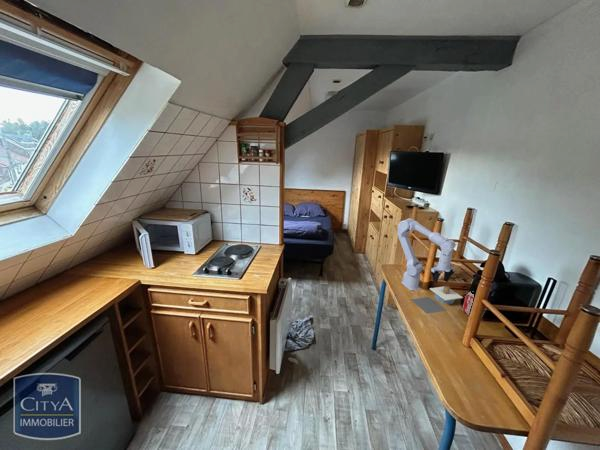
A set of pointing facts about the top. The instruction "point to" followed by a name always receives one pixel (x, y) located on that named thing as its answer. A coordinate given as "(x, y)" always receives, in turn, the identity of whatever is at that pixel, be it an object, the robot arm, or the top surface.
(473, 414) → the top surface
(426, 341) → the top surface
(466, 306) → the soda can
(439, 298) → the bowl
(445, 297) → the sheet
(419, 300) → the mat
